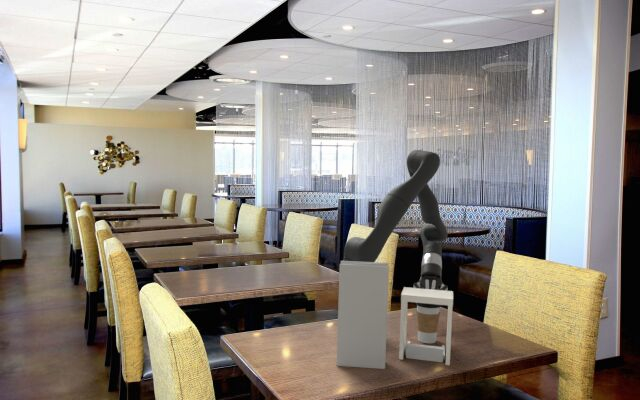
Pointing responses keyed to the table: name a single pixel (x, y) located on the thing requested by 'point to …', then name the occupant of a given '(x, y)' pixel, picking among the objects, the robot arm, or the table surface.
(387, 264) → the tall white box
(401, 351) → the white rectangular frame
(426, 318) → the coffee cup
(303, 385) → the table surface
